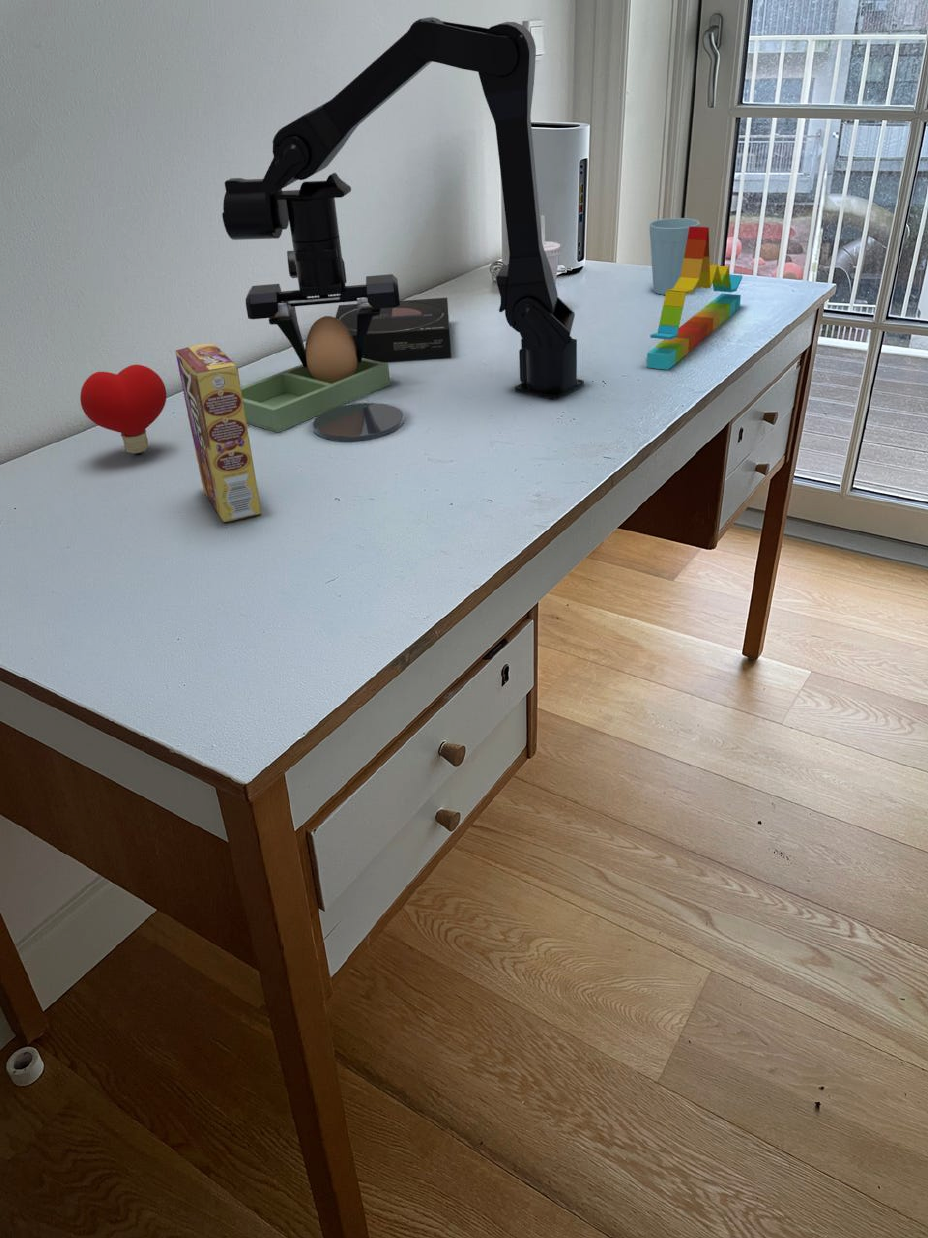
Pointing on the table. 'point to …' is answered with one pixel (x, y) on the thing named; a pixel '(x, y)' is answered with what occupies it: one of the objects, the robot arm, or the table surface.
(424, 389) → the table surface
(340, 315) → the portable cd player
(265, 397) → the tray
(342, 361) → the egg
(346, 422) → the coaster
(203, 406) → the candy box
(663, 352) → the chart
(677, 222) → the cup
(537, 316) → the robot arm
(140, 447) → the light bulb
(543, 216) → the smoothie
